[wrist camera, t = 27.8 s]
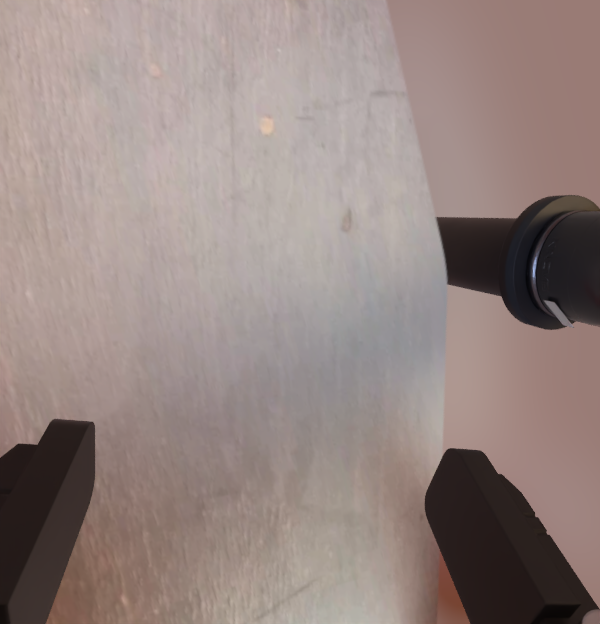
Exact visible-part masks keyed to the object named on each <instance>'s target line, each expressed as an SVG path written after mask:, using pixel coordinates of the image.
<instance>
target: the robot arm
mask: <svg viewBox="0 0 600 624" xmlns="http://www.w3.org/2000/svg"><path fill="white" fill-rule="evenodd" d="M526 286H527V291H528V294H529V297H530V299H531V301H532V303H533V304H534V306H535V307H536V308H537V309H538V310H539V311H540V312H542V313H543V314H545V315H548V316H552V317H556V318H558V319H559V320H560V322H561V323H562V324H563V325H565V326H569V327H573V326H572V324H571V323H570V322H569V320H568V319H570V320H574V321H578V322H582V323H586V324H590V325H594V326H598V327H600V211H586V210H570V211H565V212H562V213H560V214H558V215H556V216H554V217H553V218H551V219H550V220H549V221H548V222H547V223H546V224H545V225H544V226H543V227H542V229H541V230H540V231H539V233H538V234H537V236H536V238H535V239H534V241H533V244H532V246H531V249H530V251H529V255H528V259H527V264H526ZM573 328H574V327H573ZM94 480H95V425H94V423H93V422H88V421H75V420H62V419H54V420H52V421H51V422H50V424H49V425H48V427H47V429H46V431H45V432H44V434H43V436H42V438H41V440H40V441H39V443H38V445H31V444H17V445H16V446H15V447H13V448H12V449H11V450H10V451H8V452H7V453H6V454H5V455H3V456H2V457H1V458H0V624H46V621H47V618H48V616H49V613H50V610H51V607H52V605H53V602H54V599H55V597H56V594H57V591H58V588H59V586H60V583H61V580H62V577H63V575H64V572H65V569H66V567H67V564H68V561H69V558H70V556H71V553H72V550H73V547H74V545H75V542H76V539H77V537H78V534H79V531H80V528H81V526H82V523H83V520H84V517H85V515H86V512H87V509H88V506H89V503H90V500H91V496H92V492H93V487H94ZM425 512H426V516H427V519H428V522H429V524H430V527H431V529H432V532H433V534H434V537H435V539H436V541H437V544H438V546H439V549H440V551H441V553H442V556H443V558H444V561H445V563H446V566H447V568H448V570H449V573H450V575H451V578H452V580H453V582H454V585H455V587H456V590H457V592H458V594H459V597H460V599H461V602H462V604H463V607H464V609H465V611H466V614H467V616H468V619H469V621H470V624H600V609H599V608H598V606H597V605H596V603H595V602H594V601H593V599H592V598H591V596H590V595H589V593H588V592H587V590H586V589H585V587H584V586H583V584H582V583H581V581H580V580H579V578H578V577H577V575H576V574H575V572H574V571H573V569H572V568H571V566H570V565H569V563H568V562H567V560H566V559H565V557H564V556H563V554H562V553H561V551H560V550H559V548H558V547H557V545H556V544H555V542H554V541H553V539H552V538H551V536H550V535H547V533H546V531H547V530H546V529H545V527H544V526H543V524H542V523H541V521H540V520H539V518H538V517H535V512H534V511H533V509H532V508H531V506H530V505H529V503H528V502H527V500H526V499H525V497H524V496H523V494H522V493H521V492H520V491H519V490H518V489H517V488H516V487H515V486H514V485H513V484H512V483H511V482H509V481H508V480H507V479H506V478H505V477H504V476H503V475H502V474H498V473H497V472H496V470H495V469H494V467H493V465H492V464H491V462H490V461H489V459H488V458H487V456H486V455H485V454H484V453H483V452H482V451H478V450H467V449H454V448H450V449H448V450H447V451H446V452H445V453H444V455H443V457H442V459H441V461H440V464H439V466H438V468H437V470H436V472H435V474H434V476H433V479H432V481H431V483H430V485H429V487H428V489H427V492H426V496H425Z"/></svg>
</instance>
